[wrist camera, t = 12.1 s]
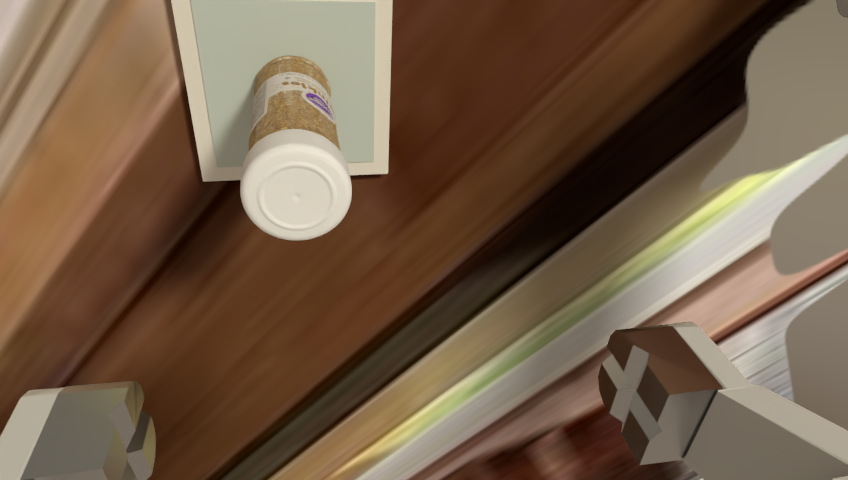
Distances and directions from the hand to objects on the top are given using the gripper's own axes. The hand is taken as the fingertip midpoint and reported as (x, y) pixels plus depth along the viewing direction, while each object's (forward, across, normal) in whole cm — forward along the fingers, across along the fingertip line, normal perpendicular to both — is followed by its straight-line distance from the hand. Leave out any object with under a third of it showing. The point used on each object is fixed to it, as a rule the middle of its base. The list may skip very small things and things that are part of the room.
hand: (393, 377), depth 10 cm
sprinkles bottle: (+27, +2, +4) cm, 28 cm away
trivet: (+28, +2, +4) cm, 29 cm away
